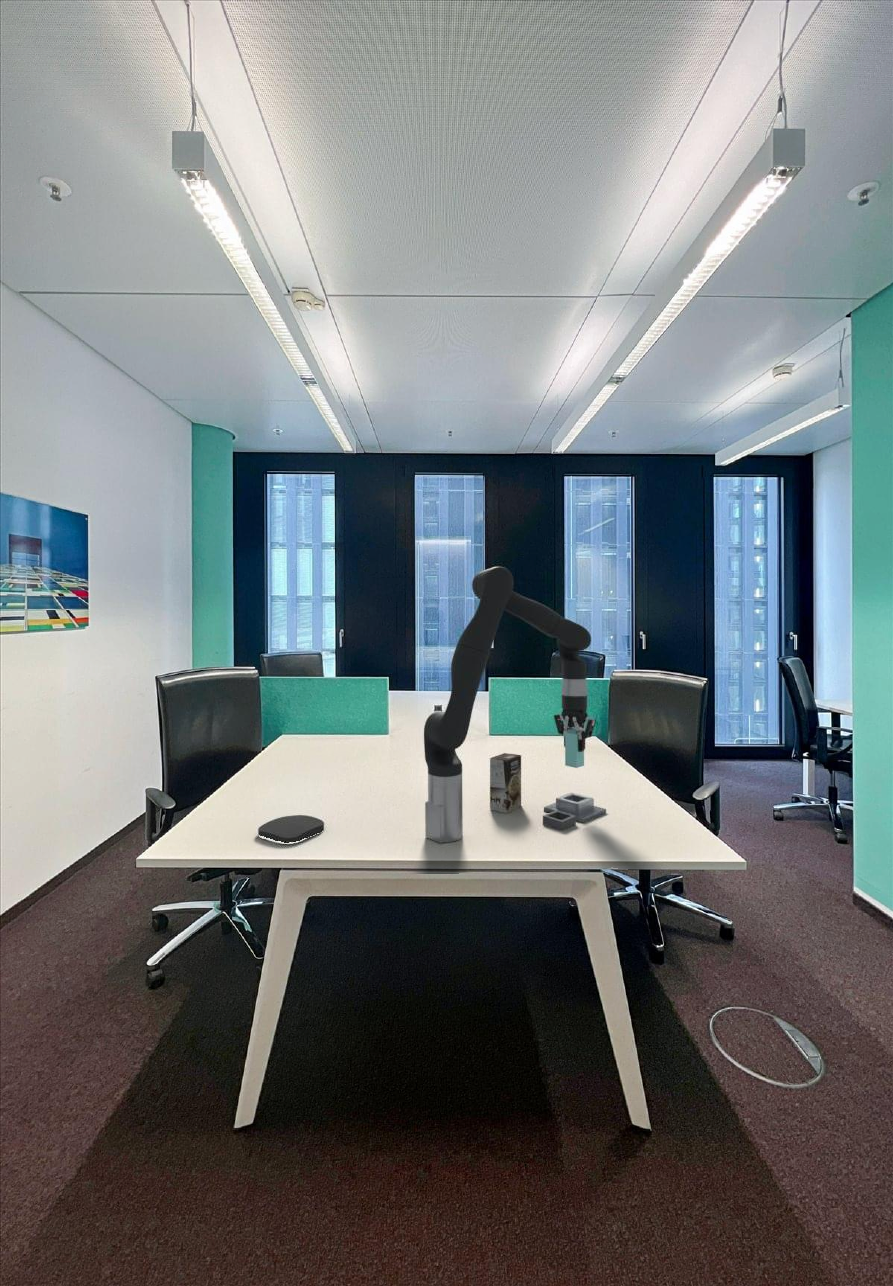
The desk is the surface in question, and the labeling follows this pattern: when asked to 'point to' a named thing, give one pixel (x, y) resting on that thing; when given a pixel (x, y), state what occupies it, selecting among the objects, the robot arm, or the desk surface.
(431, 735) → the robot arm
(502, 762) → the coffee box
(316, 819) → the media streaming box
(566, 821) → the dark grey square tray
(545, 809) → the grey stepped base
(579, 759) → the plug
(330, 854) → the desk surface
